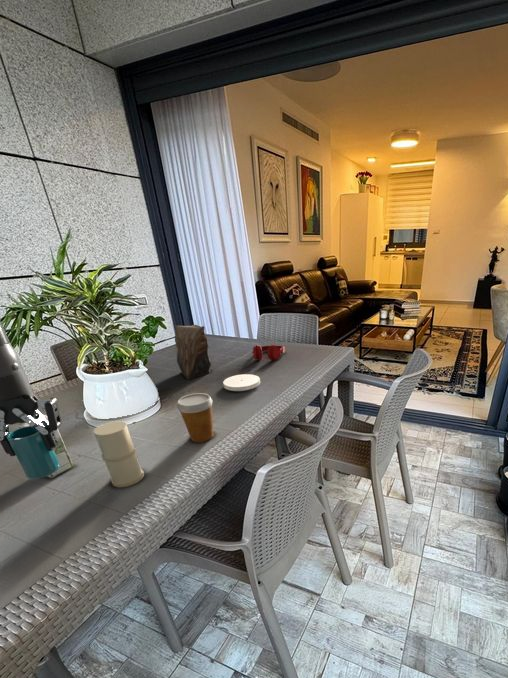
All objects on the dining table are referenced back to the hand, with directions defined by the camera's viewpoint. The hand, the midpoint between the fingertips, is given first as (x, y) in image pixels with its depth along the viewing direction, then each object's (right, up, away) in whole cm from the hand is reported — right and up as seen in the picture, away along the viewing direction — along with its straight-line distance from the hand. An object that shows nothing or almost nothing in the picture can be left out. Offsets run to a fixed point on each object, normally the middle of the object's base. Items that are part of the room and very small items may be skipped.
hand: (34, 451), depth 70 cm
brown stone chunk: (+2, +28, +82) cm, 87 cm away
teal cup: (0, -4, +2) cm, 5 cm away
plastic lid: (+27, +20, +67) cm, 75 cm away
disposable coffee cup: (+23, +2, +32) cm, 40 cm away
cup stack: (+10, -8, +15) cm, 20 cm away
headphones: (+32, +39, +102) cm, 114 cm away
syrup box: (-10, -6, +20) cm, 23 cm away
